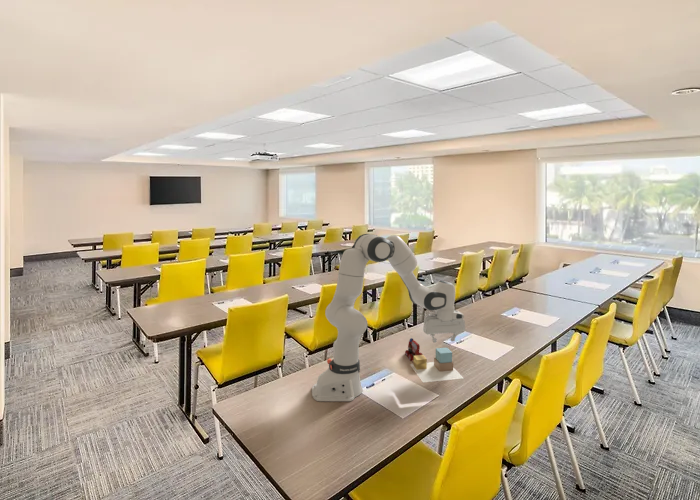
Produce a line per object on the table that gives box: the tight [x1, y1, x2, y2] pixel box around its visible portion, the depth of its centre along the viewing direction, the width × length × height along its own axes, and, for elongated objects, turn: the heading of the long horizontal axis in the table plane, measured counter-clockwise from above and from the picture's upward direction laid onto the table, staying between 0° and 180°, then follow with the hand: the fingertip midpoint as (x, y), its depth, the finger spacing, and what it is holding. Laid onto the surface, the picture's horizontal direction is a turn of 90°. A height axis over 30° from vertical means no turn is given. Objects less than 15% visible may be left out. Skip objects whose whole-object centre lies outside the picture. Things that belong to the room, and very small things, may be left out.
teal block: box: [434, 347, 453, 363], centre depth 189 cm, size 6×6×5 cm
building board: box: [409, 357, 464, 384], centre depth 186 cm, size 20×19×5 cm
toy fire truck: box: [404, 338, 424, 362], centre depth 202 cm, size 7×12×10 cm, turn 12°
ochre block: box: [412, 354, 428, 370], centre depth 191 cm, size 5×5×5 cm
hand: (443, 341), depth 188 cm, fingers open, 8 cm apart
